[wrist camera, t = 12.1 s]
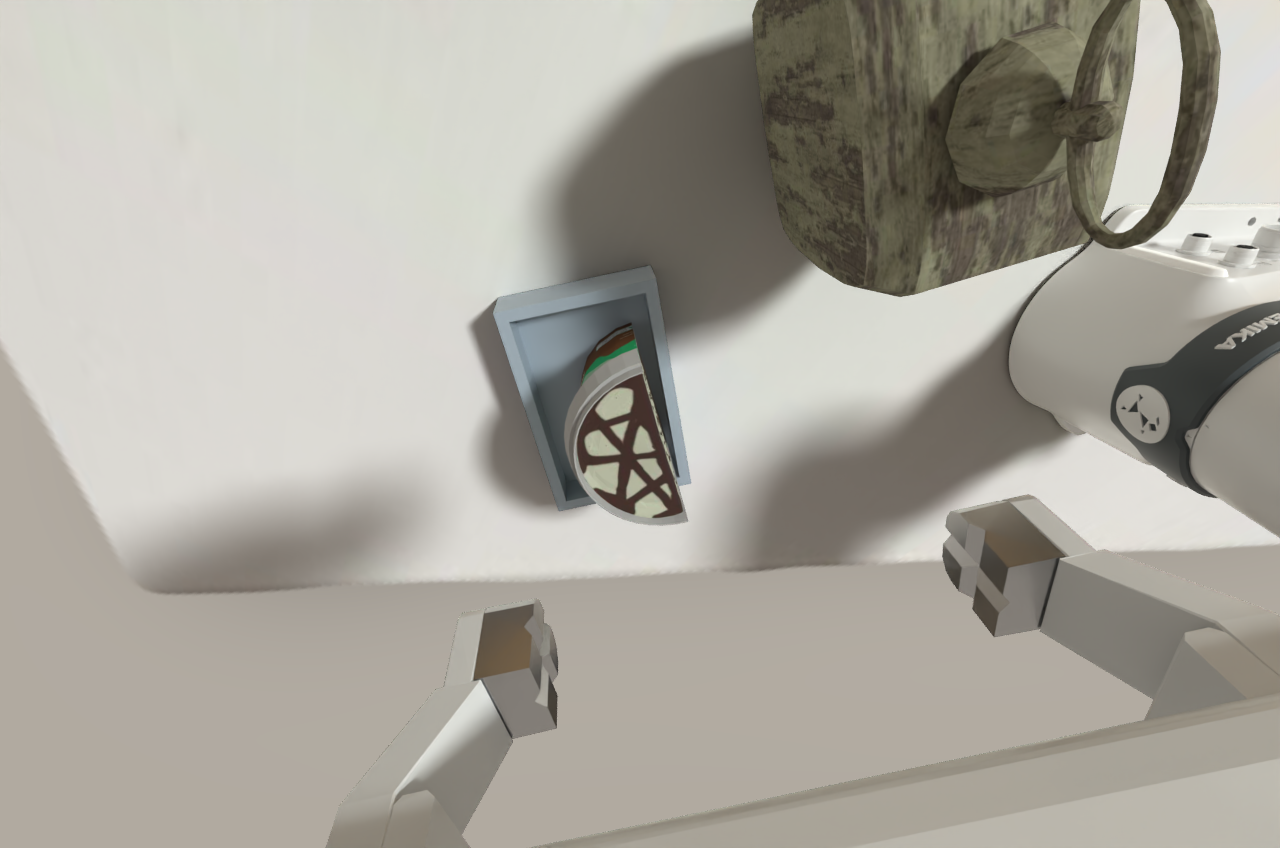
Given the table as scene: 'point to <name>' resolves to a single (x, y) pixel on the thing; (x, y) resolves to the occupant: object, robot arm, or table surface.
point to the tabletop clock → (962, 129)
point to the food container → (622, 436)
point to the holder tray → (584, 360)
